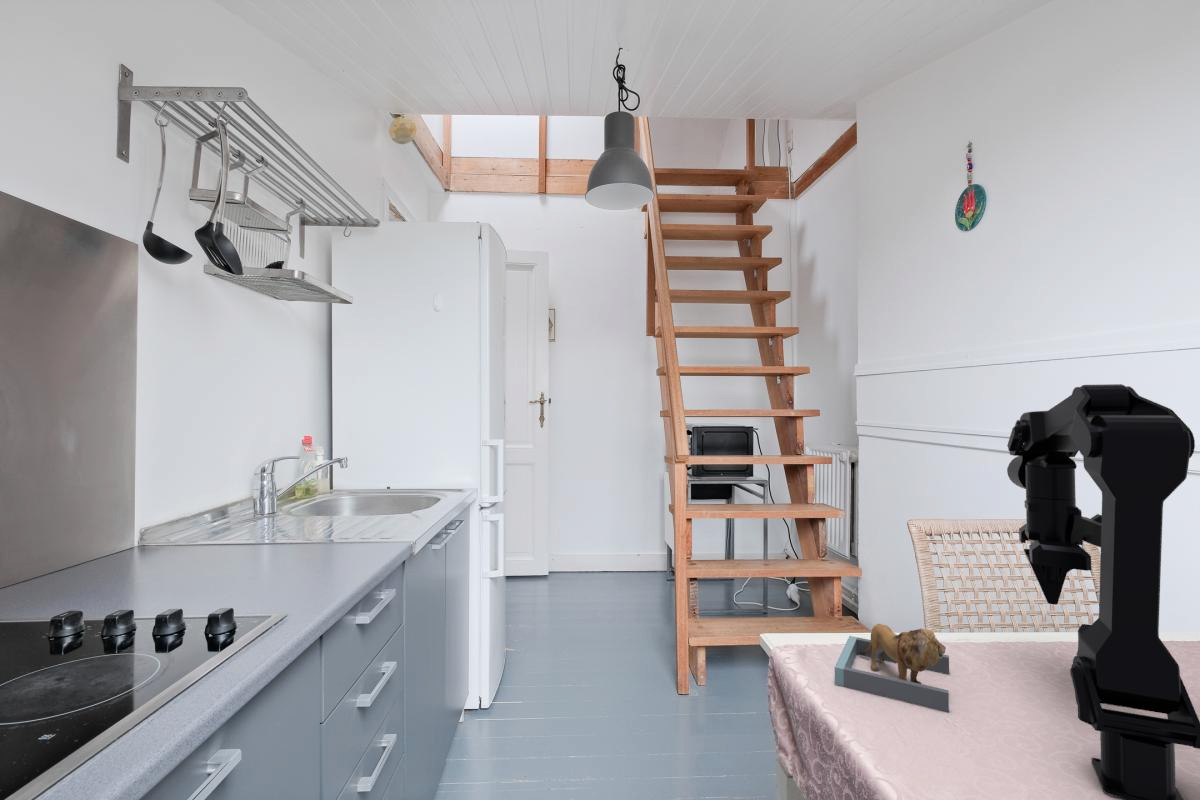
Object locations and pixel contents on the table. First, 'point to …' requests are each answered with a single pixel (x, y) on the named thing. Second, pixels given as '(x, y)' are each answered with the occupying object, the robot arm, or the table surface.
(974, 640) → the table surface
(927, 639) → the lion figurine
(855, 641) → the chassis bay
